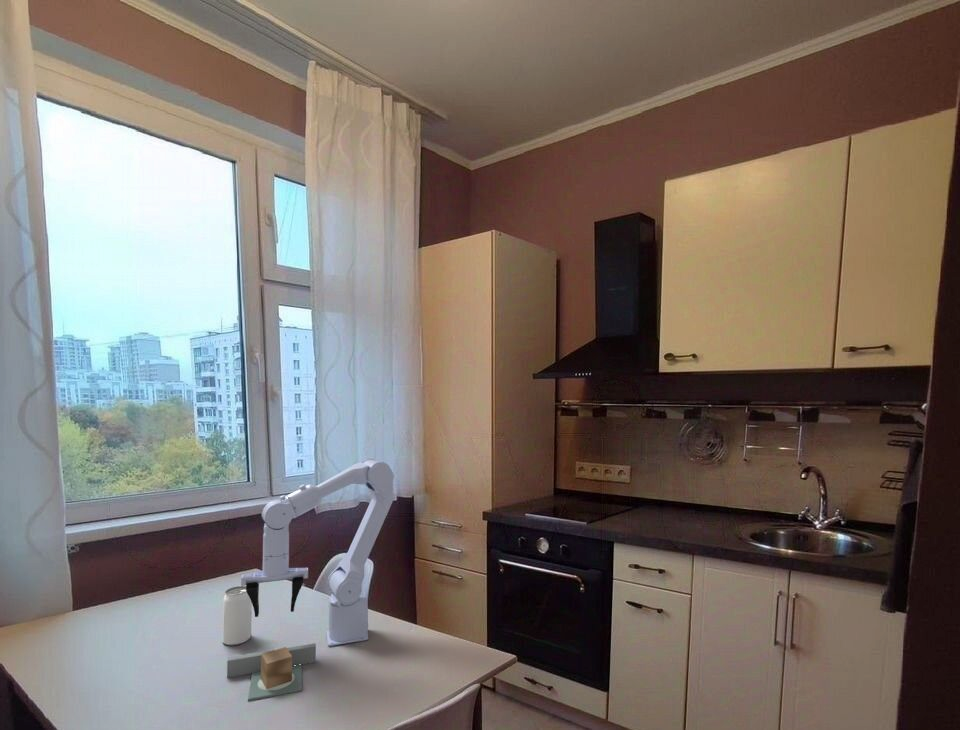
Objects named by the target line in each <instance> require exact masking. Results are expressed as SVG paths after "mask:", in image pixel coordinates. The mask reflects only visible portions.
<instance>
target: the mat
mask: <svg viewBox="0 0 960 730" xmlns="http://www.w3.org/2000/svg"><path fill="white" fill-rule="evenodd" d="M302 669H303V668H302V665H296V666H292V681H291V682H288V683H285V684H281V685H278V686H275V687H272V688H269V689H266V688H265V686H264V684H263V682H262V680H261V672H256V673H252V674H251V679H250V685H249V690H248V691H249V692H248V697H247V702H249V701H256V700H262V699H265V698H271V697H276V696H277V697H278V696H282V695H287V694H294V693H297V691H298V692H302V691H303V689H302V688H303V687H302V686H303V683H302V682H303V681H302V679H303V676H302V673H303V671H302Z"/></svg>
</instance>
